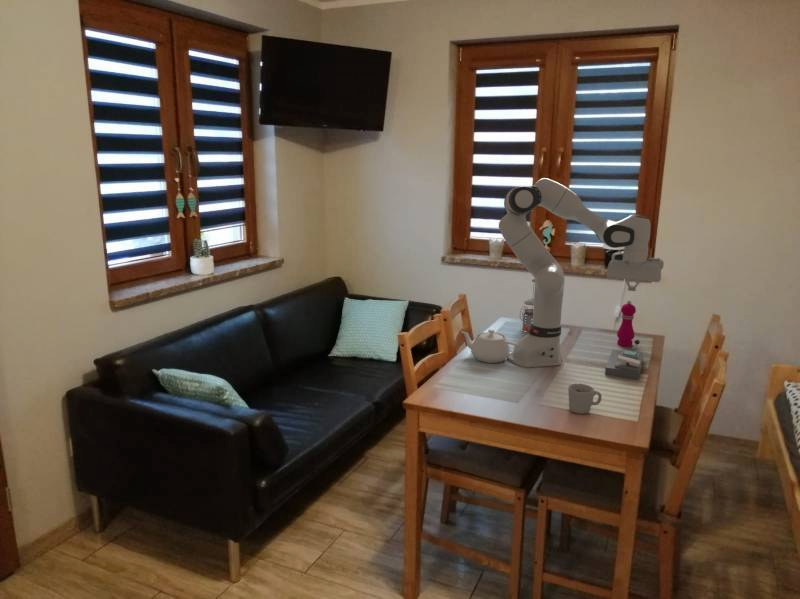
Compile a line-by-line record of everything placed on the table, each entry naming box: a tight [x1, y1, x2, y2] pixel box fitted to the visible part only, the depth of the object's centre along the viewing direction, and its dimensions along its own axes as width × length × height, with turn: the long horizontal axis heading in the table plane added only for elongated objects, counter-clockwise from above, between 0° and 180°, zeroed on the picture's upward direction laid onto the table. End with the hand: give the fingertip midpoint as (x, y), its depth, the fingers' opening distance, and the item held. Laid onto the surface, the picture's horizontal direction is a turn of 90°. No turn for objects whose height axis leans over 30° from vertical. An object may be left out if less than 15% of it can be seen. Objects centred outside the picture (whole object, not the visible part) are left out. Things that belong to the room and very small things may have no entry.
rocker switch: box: [617, 355, 640, 367], centre depth 226 cm, size 4×8×2 cm, turn 65°
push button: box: [624, 350, 638, 356], centre depth 233 cm, size 4×4×3 cm
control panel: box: [604, 349, 645, 381], centre depth 234 cm, size 24×12×6 cm, turn 155°
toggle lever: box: [630, 339, 641, 352], centre depth 239 cm, size 2×2×6 cm
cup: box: [568, 383, 602, 415], centre depth 193 cm, size 11×8×8 cm
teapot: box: [460, 329, 519, 364], centre depth 242 cm, size 25×16×12 cm, turn 60°
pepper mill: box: [616, 300, 637, 347], centre depth 261 cm, size 7×7×20 cm
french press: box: [519, 278, 535, 332], centre depth 279 cm, size 10×12×25 cm
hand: (631, 290), depth 238 cm, fingers closed
